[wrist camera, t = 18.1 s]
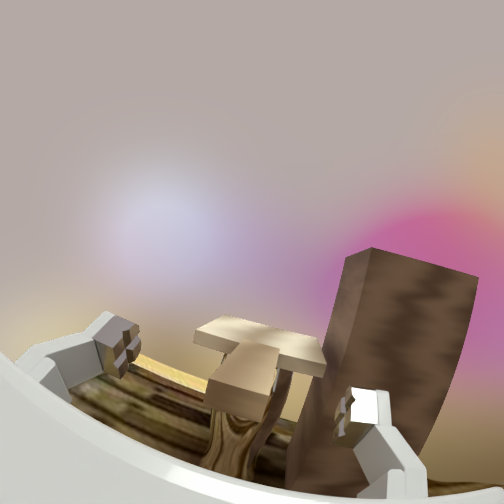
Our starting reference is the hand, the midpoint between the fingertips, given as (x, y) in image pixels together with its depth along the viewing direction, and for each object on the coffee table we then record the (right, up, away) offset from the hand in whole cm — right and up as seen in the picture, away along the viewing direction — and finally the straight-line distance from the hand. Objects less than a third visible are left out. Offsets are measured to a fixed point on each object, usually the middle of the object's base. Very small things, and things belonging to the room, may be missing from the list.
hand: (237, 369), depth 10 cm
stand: (+10, -22, +16) cm, 29 cm away
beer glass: (-2, -20, +16) cm, 25 cm away
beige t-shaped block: (+1, -5, +13) cm, 14 cm away
